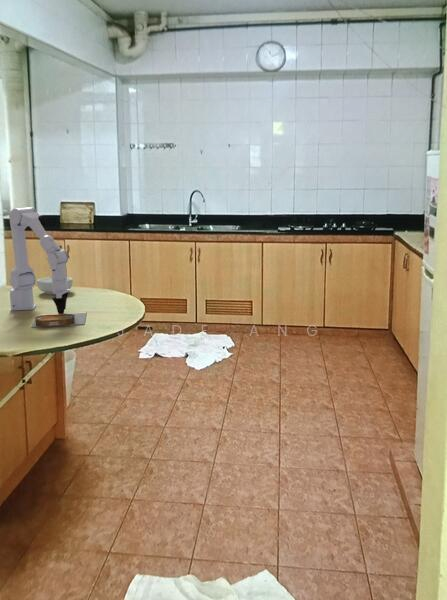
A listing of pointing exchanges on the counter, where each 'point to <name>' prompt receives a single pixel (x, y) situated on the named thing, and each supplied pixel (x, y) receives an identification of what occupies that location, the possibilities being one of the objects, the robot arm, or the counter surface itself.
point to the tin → (55, 320)
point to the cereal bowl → (50, 284)
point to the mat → (79, 320)
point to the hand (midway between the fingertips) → (61, 311)
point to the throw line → (65, 313)
